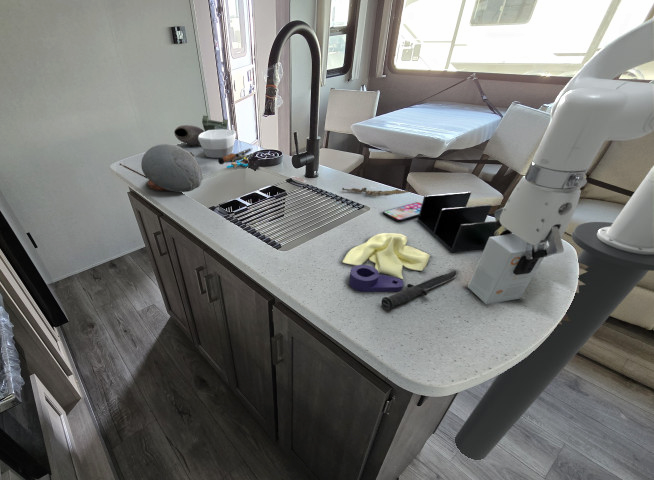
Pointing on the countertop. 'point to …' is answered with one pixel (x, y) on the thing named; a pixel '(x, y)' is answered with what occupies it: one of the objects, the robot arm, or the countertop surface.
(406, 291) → the knife
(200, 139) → the bowl
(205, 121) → the toy tank
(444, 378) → the countertop surface
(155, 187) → the incense holder
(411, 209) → the smartphone
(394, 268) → the cloth
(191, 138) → the planter
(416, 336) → the countertop surface
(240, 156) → the dinosaur
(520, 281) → the small box
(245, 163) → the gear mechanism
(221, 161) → the knife
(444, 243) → the rack
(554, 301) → the countertop surface
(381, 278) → the lever
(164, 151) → the gray stone
